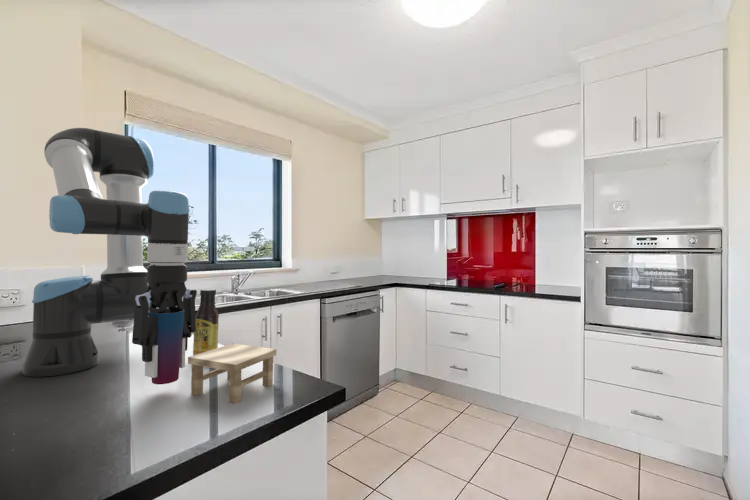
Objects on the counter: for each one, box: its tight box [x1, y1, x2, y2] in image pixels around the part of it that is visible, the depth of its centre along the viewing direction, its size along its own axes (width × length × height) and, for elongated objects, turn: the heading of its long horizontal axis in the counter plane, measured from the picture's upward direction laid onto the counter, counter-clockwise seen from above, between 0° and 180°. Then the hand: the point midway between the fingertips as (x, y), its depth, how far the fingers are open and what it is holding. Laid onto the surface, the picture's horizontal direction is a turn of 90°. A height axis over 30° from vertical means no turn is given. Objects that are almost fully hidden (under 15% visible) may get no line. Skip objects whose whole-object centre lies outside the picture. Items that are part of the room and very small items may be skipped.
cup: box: [148, 308, 185, 385], centre depth 80 cm, size 7×7×15 cm
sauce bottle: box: [192, 288, 220, 356], centre depth 104 cm, size 6×6×20 cm
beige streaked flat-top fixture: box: [187, 343, 277, 404], centre depth 83 cm, size 13×13×8 cm
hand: (165, 371), depth 80 cm, fingers closed on cup, 6 cm apart
